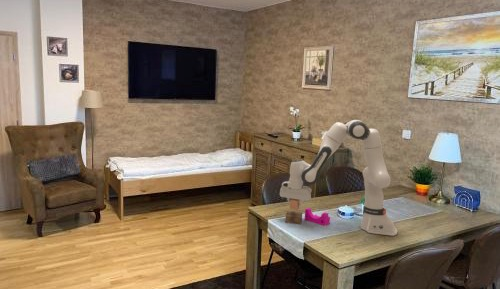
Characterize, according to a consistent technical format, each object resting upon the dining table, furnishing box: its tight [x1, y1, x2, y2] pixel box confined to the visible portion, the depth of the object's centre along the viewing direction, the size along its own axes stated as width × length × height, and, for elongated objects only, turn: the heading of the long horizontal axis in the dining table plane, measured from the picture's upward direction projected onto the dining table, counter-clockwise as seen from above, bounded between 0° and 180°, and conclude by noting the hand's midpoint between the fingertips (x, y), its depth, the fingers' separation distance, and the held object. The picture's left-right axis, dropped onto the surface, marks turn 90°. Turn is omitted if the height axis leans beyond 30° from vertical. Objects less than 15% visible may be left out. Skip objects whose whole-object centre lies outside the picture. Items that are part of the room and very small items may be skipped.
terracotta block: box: [289, 198, 300, 211], centre depth 245 cm, size 5×5×6 cm
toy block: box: [304, 207, 331, 227], centre depth 247 cm, size 15×6×8 cm, turn 50°
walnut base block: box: [284, 210, 303, 225], centre depth 247 cm, size 10×10×5 cm
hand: (294, 205), depth 246 cm, fingers closed on terracotta block, 5 cm apart
